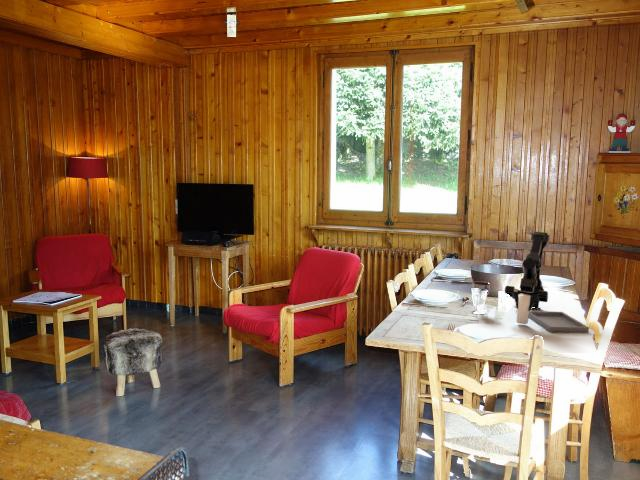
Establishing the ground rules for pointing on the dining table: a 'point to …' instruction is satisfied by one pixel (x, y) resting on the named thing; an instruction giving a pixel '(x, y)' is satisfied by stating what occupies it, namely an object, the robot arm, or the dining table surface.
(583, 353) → the dining table surface
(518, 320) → the canister
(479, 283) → the wine glass
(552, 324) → the tray
